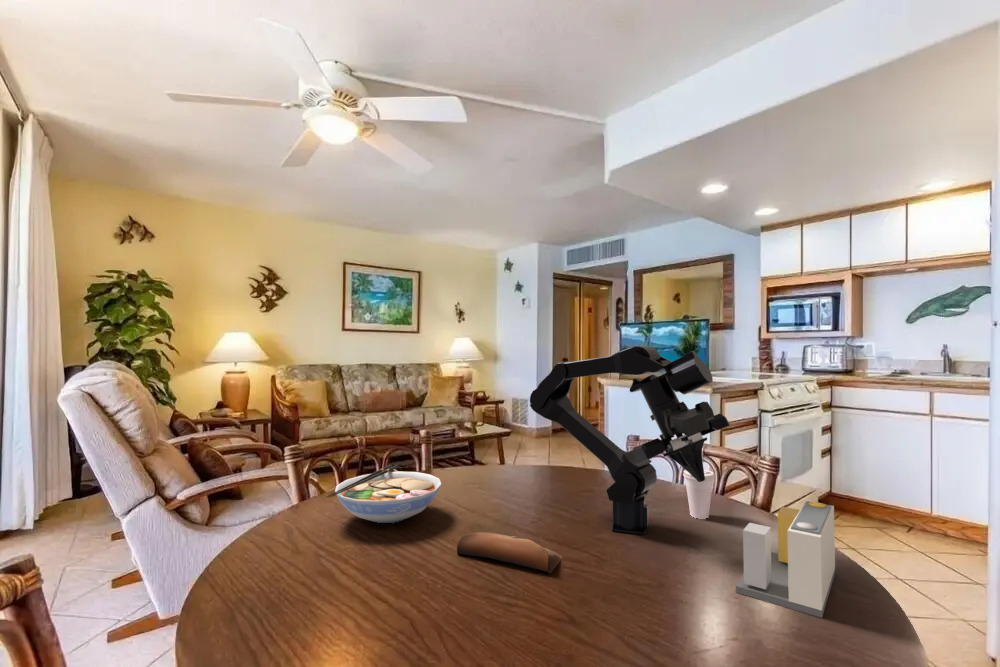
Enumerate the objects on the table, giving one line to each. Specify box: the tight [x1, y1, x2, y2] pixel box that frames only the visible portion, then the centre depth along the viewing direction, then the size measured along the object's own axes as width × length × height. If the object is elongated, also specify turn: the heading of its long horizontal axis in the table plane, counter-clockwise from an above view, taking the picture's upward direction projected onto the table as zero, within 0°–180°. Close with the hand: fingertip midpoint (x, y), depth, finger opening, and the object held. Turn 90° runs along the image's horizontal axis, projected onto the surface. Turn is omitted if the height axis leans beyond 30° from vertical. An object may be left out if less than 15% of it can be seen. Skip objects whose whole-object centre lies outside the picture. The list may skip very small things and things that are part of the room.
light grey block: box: [742, 522, 772, 589], centre depth 75 cm, size 3×4×8 cm
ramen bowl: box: [326, 464, 442, 524], centre depth 107 cm, size 25×23×8 cm
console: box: [735, 500, 836, 619], centre depth 78 cm, size 11×17×12 cm, turn 141°
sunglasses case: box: [456, 531, 563, 575], centre depth 88 cm, size 18×7×7 cm, turn 63°
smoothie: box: [682, 452, 715, 520], centre depth 108 cm, size 6×6×14 cm
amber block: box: [777, 506, 800, 563], centre depth 83 cm, size 3×4×8 cm
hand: (702, 481), depth 92 cm, fingers closed
